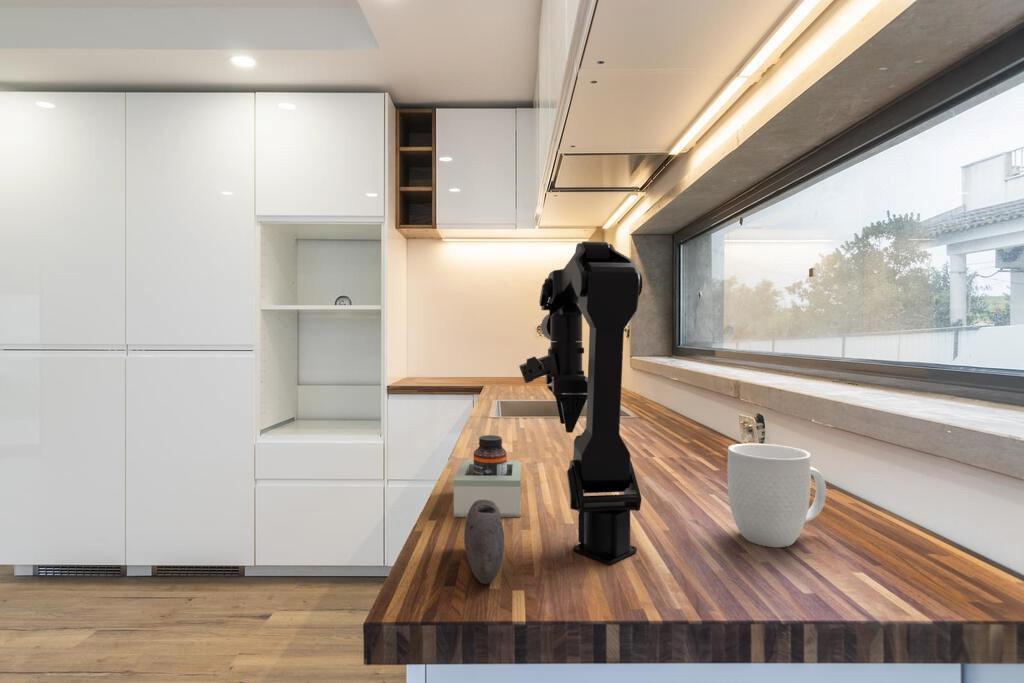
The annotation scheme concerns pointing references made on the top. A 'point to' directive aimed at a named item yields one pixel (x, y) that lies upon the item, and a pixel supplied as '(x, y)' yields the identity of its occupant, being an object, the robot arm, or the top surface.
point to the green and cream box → (488, 489)
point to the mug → (772, 492)
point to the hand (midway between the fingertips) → (566, 427)
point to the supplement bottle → (490, 457)
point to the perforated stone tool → (484, 540)
